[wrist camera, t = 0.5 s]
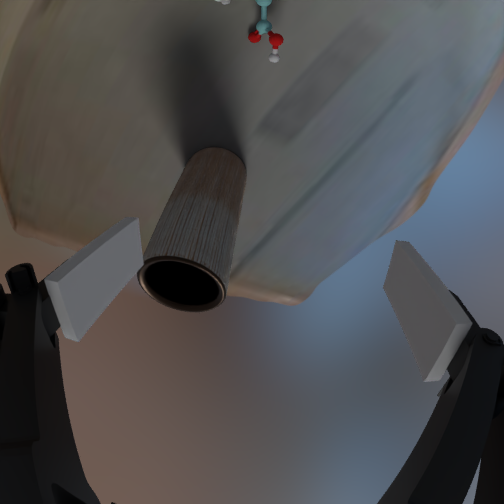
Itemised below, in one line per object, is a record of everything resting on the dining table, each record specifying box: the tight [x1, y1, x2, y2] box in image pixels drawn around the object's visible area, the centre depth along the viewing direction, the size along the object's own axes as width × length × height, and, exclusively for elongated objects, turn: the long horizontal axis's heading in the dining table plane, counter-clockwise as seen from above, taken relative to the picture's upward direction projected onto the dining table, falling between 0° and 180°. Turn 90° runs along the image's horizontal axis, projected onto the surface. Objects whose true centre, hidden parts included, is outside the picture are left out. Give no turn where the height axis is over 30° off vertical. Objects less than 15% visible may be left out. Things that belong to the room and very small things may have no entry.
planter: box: [137, 147, 246, 312], centre depth 38 cm, size 10×10×23 cm
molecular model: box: [215, 0, 283, 62], centre depth 23 cm, size 12×10×10 cm
